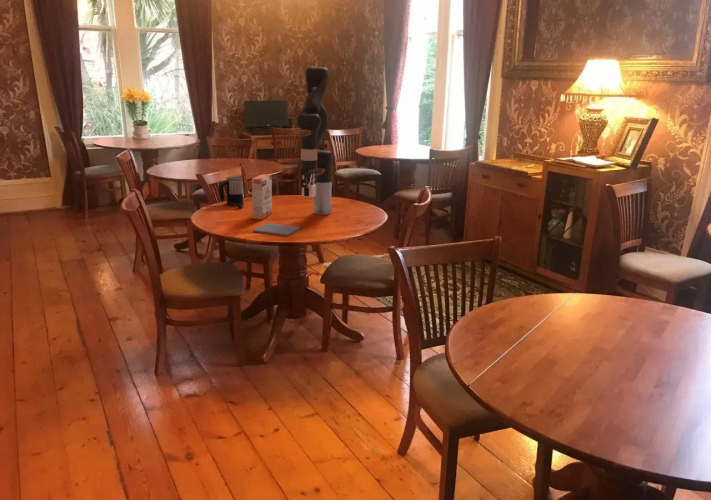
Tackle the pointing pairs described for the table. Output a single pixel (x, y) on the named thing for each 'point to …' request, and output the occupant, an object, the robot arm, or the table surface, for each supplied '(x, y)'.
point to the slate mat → (277, 229)
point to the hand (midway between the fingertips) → (308, 194)
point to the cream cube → (310, 191)
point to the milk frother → (232, 191)
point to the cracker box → (262, 196)
